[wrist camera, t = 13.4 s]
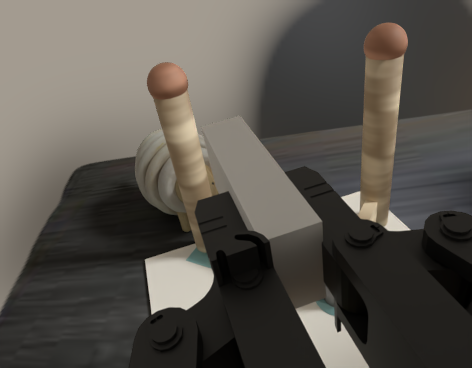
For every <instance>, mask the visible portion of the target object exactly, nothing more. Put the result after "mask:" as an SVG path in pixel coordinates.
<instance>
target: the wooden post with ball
mask: <svg viewBox="0 0 472 368" xmlns="http://www.w3.org/2000/svg"><path fill="white" fill-rule="evenodd" d="M407 44H408V40H407V35H406V33H405V31H404V30H403V29H402V28H401V27H400V26H399V25H397V24H394V23H383V24H380V25H378V26H376V27H374V28H373V29H372V30H371V31H370V32H369V33H368V35H367V37H366V39H365V43H364V52H365V55H366V68H365V93H364V116H363V140H362V164H361V188H360V212H359V214H358V216H359V218H360V219H368V220H371V221H374V222H377V223H379V224H380V225H382V226H383V227H384V226H386V225H387V222H388V213H389V203H390V192H391V182H392V172H393V161H394V151H395V141H396V130H397V120H398V109H399V99H400V89H401V79H402V67H403V58H404V53H405V51H406V48H407ZM325 287H326V298H324V300H325V301H326V303H327V304H329V305H330V306H332V307H334V297H333V295H332V294H331V292H330V291H329V289H328V288H327V286H326V284H325Z"/></svg>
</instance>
